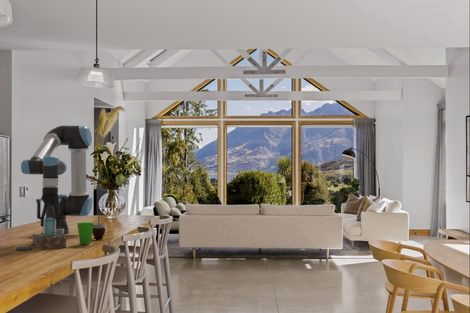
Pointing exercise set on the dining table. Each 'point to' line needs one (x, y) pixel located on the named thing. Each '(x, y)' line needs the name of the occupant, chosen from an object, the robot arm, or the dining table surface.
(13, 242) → the dining table surface
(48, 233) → the teal tall cylinder
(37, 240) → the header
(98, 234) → the mate gourd
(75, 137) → the robot arm
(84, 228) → the cup
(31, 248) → the coaster
